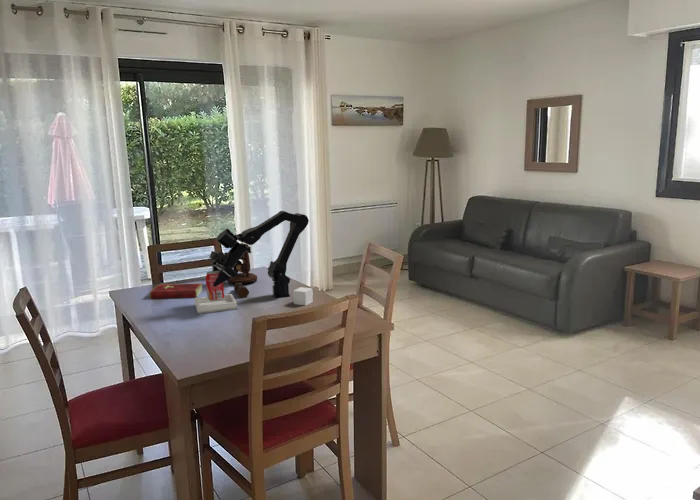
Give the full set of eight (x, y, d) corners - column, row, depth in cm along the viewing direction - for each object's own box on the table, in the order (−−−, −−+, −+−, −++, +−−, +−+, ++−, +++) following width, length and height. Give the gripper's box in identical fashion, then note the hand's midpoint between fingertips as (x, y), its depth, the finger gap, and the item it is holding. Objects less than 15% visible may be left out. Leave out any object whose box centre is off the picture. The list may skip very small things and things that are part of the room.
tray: (232, 300, 237) (231, 293, 236) (237, 309, 224) (236, 302, 223) (194, 304, 231) (194, 298, 230) (198, 314, 218) (197, 307, 217)
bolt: (239, 293, 254) (245, 300, 241) (230, 289, 252) (235, 296, 239) (245, 282, 255) (251, 289, 241) (235, 278, 253) (240, 284, 239)
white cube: (312, 301, 232) (312, 288, 231) (305, 305, 227) (305, 292, 226) (301, 300, 235) (300, 287, 234) (293, 304, 229) (293, 290, 228)
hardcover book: (196, 298, 242) (196, 289, 241) (150, 299, 242) (149, 290, 241) (203, 291, 254) (202, 282, 253) (158, 292, 253) (158, 283, 253)
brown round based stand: (263, 281, 268) (261, 242, 264) (238, 287, 257) (236, 247, 253) (246, 277, 278) (243, 239, 274) (221, 282, 267) (219, 243, 263)
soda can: (214, 297, 231) (212, 270, 229) (228, 298, 228) (225, 270, 226) (204, 301, 224) (201, 273, 223) (217, 302, 221) (215, 273, 220)
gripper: (213, 240, 232) (190, 268, 229) (227, 247, 216) (202, 277, 213) (232, 255, 237) (210, 283, 234) (247, 263, 222) (223, 293, 218)
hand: (211, 284), depth 225 cm, fingers closed on soda can, 7 cm apart
